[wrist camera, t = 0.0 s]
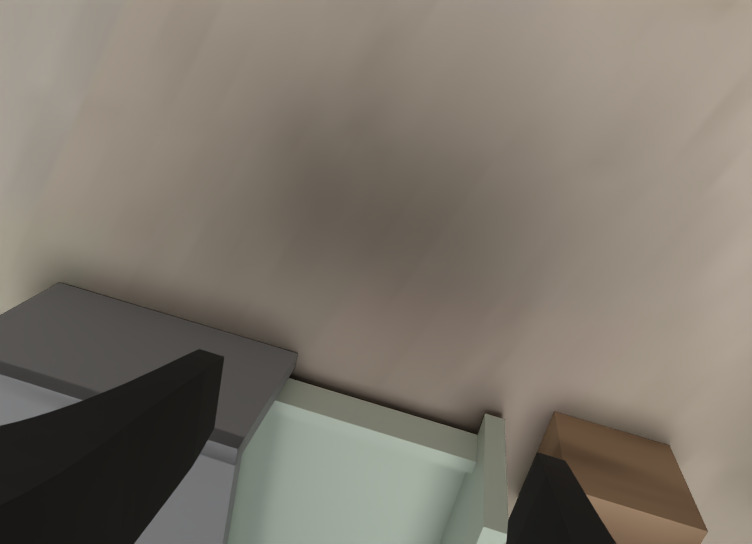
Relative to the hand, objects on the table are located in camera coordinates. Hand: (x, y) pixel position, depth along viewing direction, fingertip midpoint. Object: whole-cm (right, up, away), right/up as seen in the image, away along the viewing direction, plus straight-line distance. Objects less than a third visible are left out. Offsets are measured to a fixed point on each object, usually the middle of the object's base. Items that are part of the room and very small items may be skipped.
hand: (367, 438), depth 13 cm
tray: (-2, -8, +14) cm, 16 cm away
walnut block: (+9, -5, +11) cm, 15 cm away
